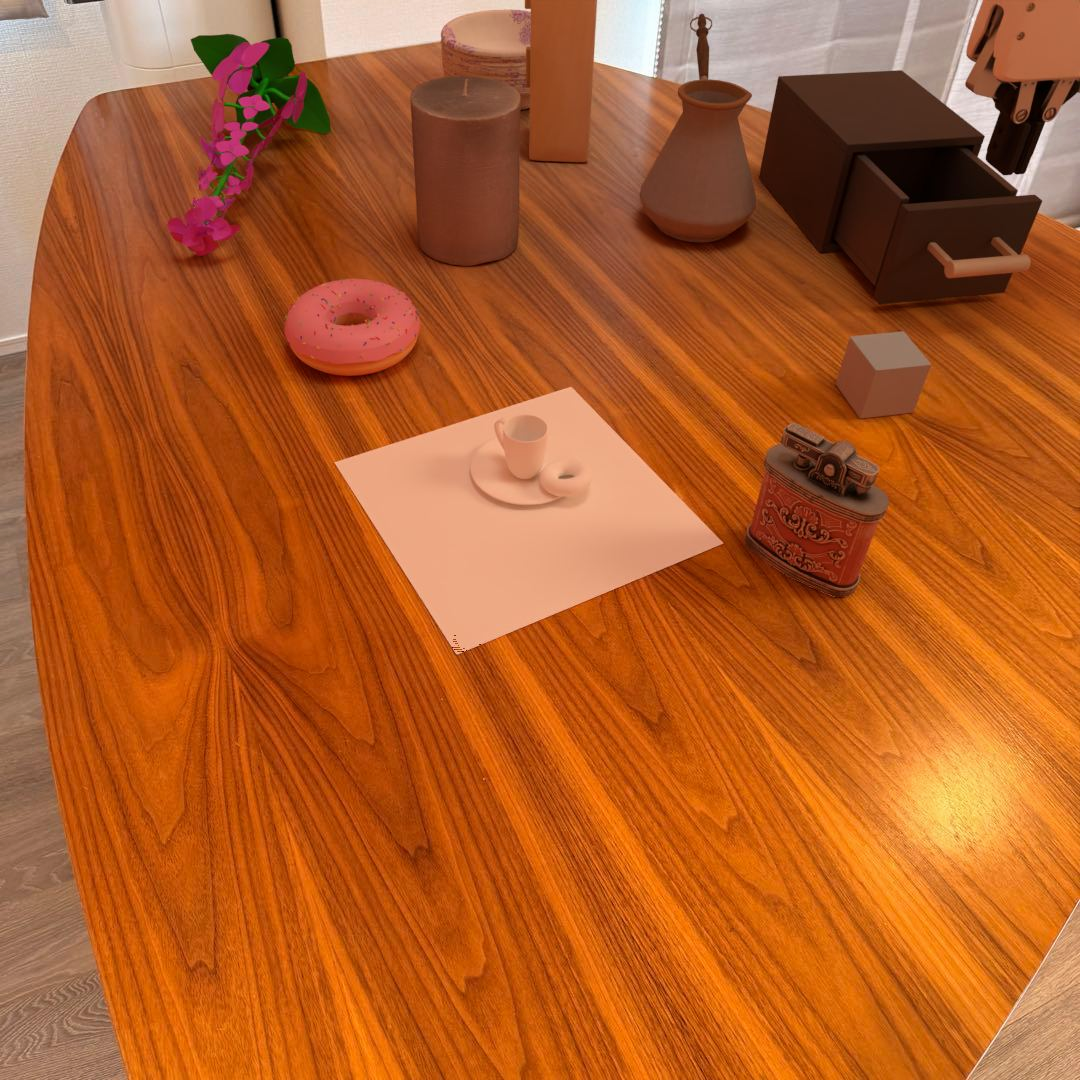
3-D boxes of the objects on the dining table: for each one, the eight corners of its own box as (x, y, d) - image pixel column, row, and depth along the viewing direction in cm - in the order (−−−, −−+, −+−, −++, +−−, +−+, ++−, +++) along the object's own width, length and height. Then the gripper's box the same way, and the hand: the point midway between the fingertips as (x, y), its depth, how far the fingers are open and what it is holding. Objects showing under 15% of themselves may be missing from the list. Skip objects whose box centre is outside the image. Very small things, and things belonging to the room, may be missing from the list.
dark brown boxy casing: (947, 242, 96) (985, 136, 89) (820, 253, 94) (847, 144, 87) (873, 170, 108) (901, 69, 100) (758, 177, 106) (778, 75, 98)
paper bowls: (417, 98, 119) (413, 27, 113) (500, 65, 127) (500, -1, 121) (511, 134, 112) (511, 61, 106) (592, 97, 120) (596, 28, 115)
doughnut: (317, 400, 75) (310, 355, 72) (269, 331, 82) (260, 287, 79) (444, 362, 79) (442, 317, 76) (388, 298, 86) (384, 255, 83)
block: (887, 378, 80) (903, 330, 76) (913, 413, 76) (932, 364, 73) (835, 384, 79) (849, 336, 76) (859, 419, 76) (875, 370, 72)
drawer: (1033, 321, 85) (1075, 227, 79) (903, 334, 83) (935, 238, 77) (923, 213, 99) (951, 126, 92) (809, 222, 97) (830, 133, 90)
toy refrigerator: (524, 131, 112) (528, -79, 98) (588, 134, 112) (601, -76, 97) (521, 161, 107) (524, -57, 92) (588, 164, 107) (601, -54, 92)
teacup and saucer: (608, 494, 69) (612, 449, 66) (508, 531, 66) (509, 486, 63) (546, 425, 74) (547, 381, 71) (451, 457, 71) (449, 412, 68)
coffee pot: (758, 255, 93) (791, 94, 83) (638, 250, 94) (656, 88, 83) (734, 160, 109) (759, 13, 98) (631, 155, 109) (645, 8, 98)
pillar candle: (442, 211, 98) (435, 53, 87) (533, 229, 96) (537, 69, 85) (400, 255, 91) (388, 91, 81) (497, 276, 89) (497, 109, 79)
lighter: (866, 578, 64) (912, 462, 56) (840, 607, 62) (884, 490, 55) (761, 520, 67) (792, 403, 60) (734, 545, 65) (762, 428, 58)
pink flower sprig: (319, 146, 117) (271, 326, 94) (182, 73, 110) (94, 248, 87) (361, 56, 109) (319, 229, 86) (216, -28, 102) (129, 135, 79)
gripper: (1169, -124, 67) (1062, 141, 80) (971, -120, 65) (894, 153, 78) (1245, -97, 62) (1117, 182, 75) (1033, -91, 59) (939, 196, 72)
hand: (1004, 167), depth 76 cm, fingers closed
